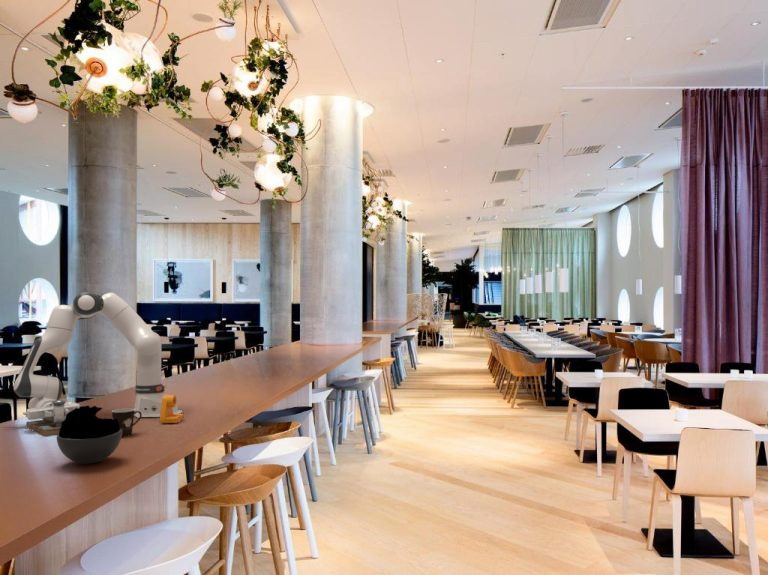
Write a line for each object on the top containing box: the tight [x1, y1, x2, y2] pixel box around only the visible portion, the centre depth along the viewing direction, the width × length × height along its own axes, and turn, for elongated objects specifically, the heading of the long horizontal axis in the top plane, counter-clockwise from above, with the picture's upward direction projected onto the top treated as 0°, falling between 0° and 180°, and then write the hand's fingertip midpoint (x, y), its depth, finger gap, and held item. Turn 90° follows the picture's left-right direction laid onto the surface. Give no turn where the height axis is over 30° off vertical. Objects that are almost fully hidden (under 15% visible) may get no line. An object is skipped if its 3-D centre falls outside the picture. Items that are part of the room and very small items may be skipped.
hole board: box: [25, 418, 66, 437], centre depth 263 cm, size 24×14×3 cm, turn 45°
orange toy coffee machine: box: [159, 394, 185, 424], centre depth 278 cm, size 11×7×12 cm, turn 179°
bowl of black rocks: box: [56, 405, 123, 465], centre depth 210 cm, size 20×20×19 cm
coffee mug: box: [111, 407, 142, 437], centre depth 252 cm, size 12×9×10 cm
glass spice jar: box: [52, 399, 67, 428], centre depth 259 cm, size 5×5×11 cm
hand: (59, 413), depth 258 cm, fingers open, 4 cm apart
